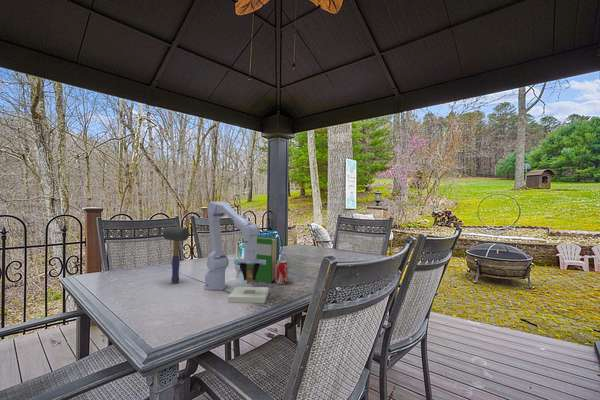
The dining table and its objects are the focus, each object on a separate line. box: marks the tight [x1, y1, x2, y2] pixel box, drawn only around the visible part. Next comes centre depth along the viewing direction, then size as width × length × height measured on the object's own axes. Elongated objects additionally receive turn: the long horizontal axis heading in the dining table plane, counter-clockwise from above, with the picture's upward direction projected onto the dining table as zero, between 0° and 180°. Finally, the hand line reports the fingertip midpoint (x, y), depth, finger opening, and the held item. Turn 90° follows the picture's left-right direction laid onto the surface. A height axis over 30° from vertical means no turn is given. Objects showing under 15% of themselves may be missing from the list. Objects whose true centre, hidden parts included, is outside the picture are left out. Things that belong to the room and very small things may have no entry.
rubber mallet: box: [162, 226, 190, 284], centre depth 149 cm, size 12×8×30 cm, turn 72°
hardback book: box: [247, 235, 280, 285], centre depth 157 cm, size 18×7×24 cm, turn 63°
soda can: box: [274, 259, 289, 285], centre depth 151 cm, size 7×7×12 cm
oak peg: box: [245, 267, 254, 285], centre depth 128 cm, size 4×4×7 cm
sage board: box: [227, 286, 270, 304], centre depth 128 cm, size 16×14×2 cm
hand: (249, 279), depth 128 cm, fingers closed on oak peg, 4 cm apart
